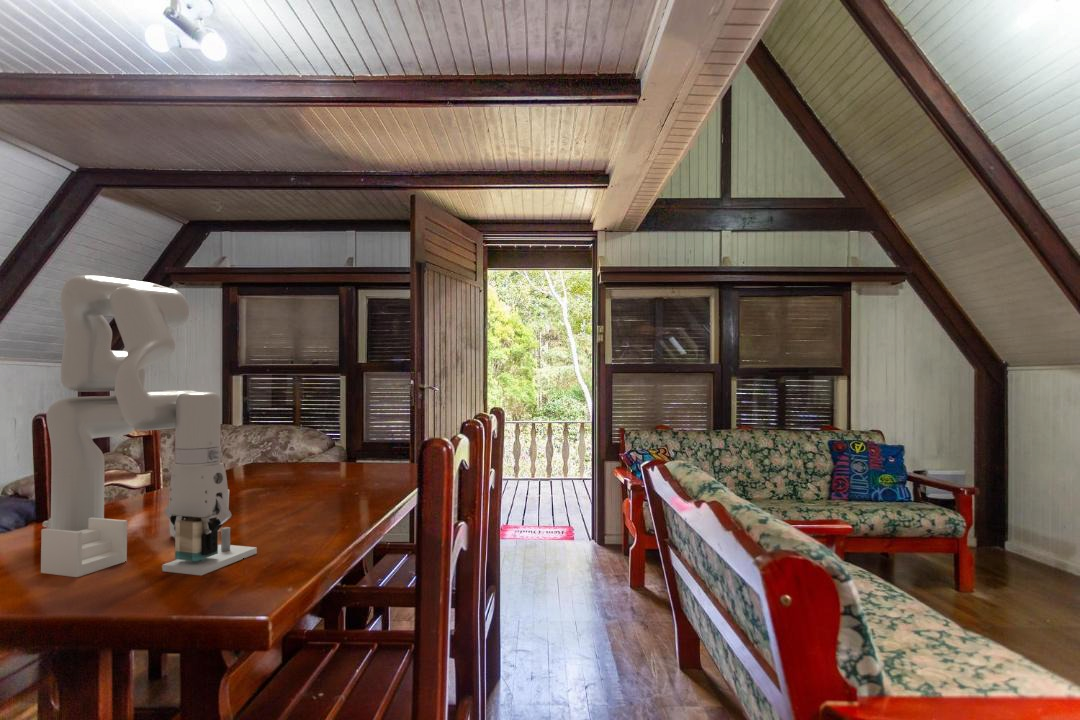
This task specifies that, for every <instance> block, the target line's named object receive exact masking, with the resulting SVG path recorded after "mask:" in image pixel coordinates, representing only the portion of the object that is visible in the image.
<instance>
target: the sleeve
mask: <svg viewBox="0 0 1080 720" xmlns="http://www.w3.org/2000/svg"><path fill="white" fill-rule="evenodd" d="M209 521H210V525H211V523H212V519H209ZM202 534H205V532H204V528H203V523H202V519H201V518H192V517H190V518H186V519H183V520H179V521H176V525H175V538H174V541H175V543H174V544H175V545H174V547H175V548H174V549H175V550H174V559H175V560H177V559H180V560H189V561H199V560H201V559H204V558H207V557H210V556H212V555H215V554H218V545H219V538H218V539H217V551H216V552H214V553H211V554H208V555H202V554H201V545H202Z"/></svg>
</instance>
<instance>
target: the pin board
mask: <svg viewBox="0 0 1080 720" xmlns="http://www.w3.org/2000/svg"><path fill="white" fill-rule="evenodd" d="M220 530H221V531H220V533H221V535H220V537H221V538H220V540H221V541H220V544H218V554H215V555H212V556H210V557H207V558H204V559H201V560H199V561H189V560H180V559H175V560H172V561H170V562H166V563H164V564H162V568H161V569H162V570H161V571H162V572H166V573H167V572H168V573H175V574H183V575H184V574H185V575H194V576H203V575H207V574H208V573H211V572H214V571H216V570H219V569H222V568H224V567H226V566H228V565H231V564H233V563H236V562H238V561H239V562H240V561H241V560H244V559H246V558H250V557H252V556H254V555H257V554H258V553H257V552H258V551H257V550H258V547H257V546H256V547H255V546H245V545H234V544H231V527H229V526H224V527H221V529H220ZM243 558H244V559H243Z"/></svg>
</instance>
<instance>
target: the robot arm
mask: <svg viewBox="0 0 1080 720" xmlns="http://www.w3.org/2000/svg"><path fill="white" fill-rule="evenodd" d="M189 306H190V305H189V302H188V301H187V299H186V297H185V296H184V295H183V294H182V292H180V291H179V290H177V289H174V288H170V287H167V286H163V285H160V284H157V283H153V282H148V281H143V280H141V281H140V280H134V279H125V278H118V277H112V276H111V277H110V276H106V275H105V276H103V275H95V274H94V275H93V274H89V275H88V274H84V275H83V274H81V275H75V276H72V277H70V278H69V279H67V281H66V282H65V283H64V285H63V287H62V288H61V293H60V308H61V309H60V310H61V313H62V317H63V321H64V340H63V347H62V357H61V364H60V381H61V384H62V387H64V388H65V389H67V390H69V391H73V392H85V393H86V392H87V393H89V392H94V393H95V392H96V393H97V392H98V393H99V392H112V395H103V396H72V397H66V398H65V397H64V398H62V399H58V400H57V401H54V402H53V403H52V404H51V405H49V407H48V409H47V411H46V425H47V429H48V435H49V436H48V437H49V439H50V440H49V441H50V451H51V475H50V476H51V477H50V478H51V479H50V481H51V483H50V484H51V485H50V488H51V489H50V491H51V492H50V493H51V494H50V518H48V520H44V521H43V522H42V527H43V528H48V529H57V530H68V531H81V530H84V529H88V518H104V519H105V470H106V469H105V456H104V454H103V451H102V450H101V449H100V447H98V445H97V444H96V443H95V442H94V439H99V438H109V437H110V438H111V437H119V436H121V437H122V436H127V435H129V434H132V433H133V432H134V431H135V430H137V431H142V432H146V431H158V430H168V429H175V431H174V432H175V435H174V437H175V439H174V442H175V443H174V444H175V446H174V447H175V448H174V449H175V450H174V452H175V453H174V456H175V457H174V464H173V466H172V472H171V476H170V484H169V495H168V497H169V498H168V502H169V503H168V504H167V505H166V507H165V508H164V512H163V513H164V514H165V516H167V518H168V519H169V522H170V521H171V522H172V524H173V525H174V531H175V525H176V521H179V520H183V519H184V518H185V519H186V518H190V517H192V518H201V519H202V523H203V528H204V532H205V534H202V545H201V554H202V555H208V554H211V553H214V552H216V551H217V539H218V540H219V532H220V530H221V528H222V527H223V525H224V524H225V523H226V522H227V521H229V520H230V519H231V517H232V512H231V510H230V509H229V508H228V489H229V488H228V480H227V479H228V478H227V471H226V468H225V465H224V462H221V459H222V458H223V455H224V453H223V452H222V451H221V426H222V425H221V415H222V412H221V411H222V410H221V409H222V408H221V405H222V402H221V400H222V399H221V396H220V395H219V394H218V393H216V392H213V391H197V390H192V389H191V390H190V389H177V390H176V389H175V390H174V389H167V390H166V389H165V390H145V389H144V388H145V380H146V369H145V368H148V367H150V366H152V365H156V364H158V363H160V362H162V361H164V360H166V359H167V358H169V357H170V356H171V355H172V354H173V353H174V352H175V349H176V342H175V340H174V338H173V335H172V333H171V331H170V328H179V327H182V326H183V325H184V324H185V323H186V322H187V321H188V319H189V316H190V307H189ZM104 316H108V317H109V316H110V317H113V318H114V322H115V324H116V327H117V329H118V331H119V334H120V337H121V340H122V343H123V346H124V348H125V350H113V349H112V341H113V330H112V328H111V326H110V324H109V322H108V321H107V319H106V318H105V317H104ZM209 519H212V523H211V525H210V521H209Z"/></svg>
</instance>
